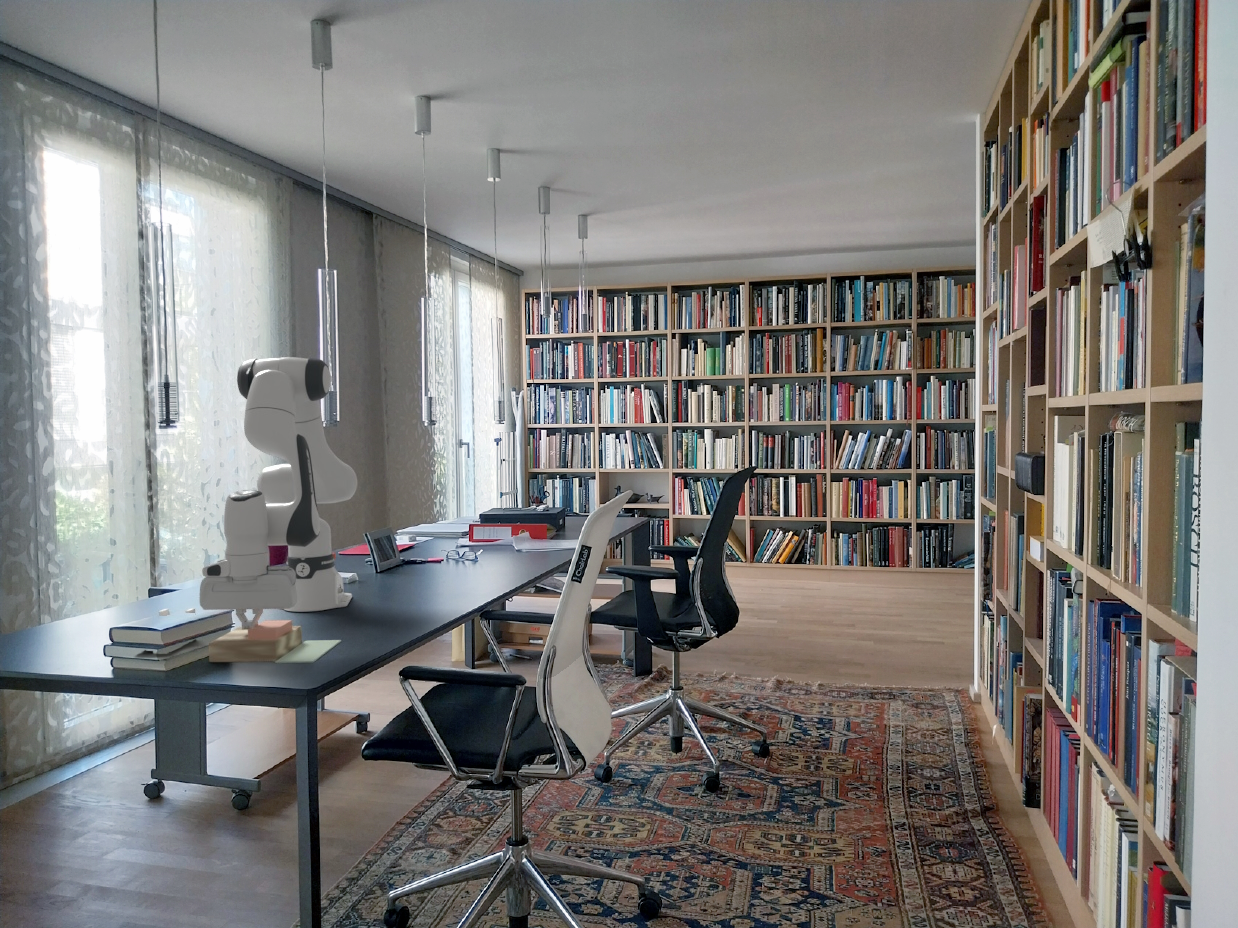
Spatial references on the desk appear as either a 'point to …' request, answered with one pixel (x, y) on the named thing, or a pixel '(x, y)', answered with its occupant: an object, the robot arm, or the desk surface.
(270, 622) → the terracotta brick
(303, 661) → the mat
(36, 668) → the desk surface
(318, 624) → the desk surface
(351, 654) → the desk surface
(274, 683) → the desk surface
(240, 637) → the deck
